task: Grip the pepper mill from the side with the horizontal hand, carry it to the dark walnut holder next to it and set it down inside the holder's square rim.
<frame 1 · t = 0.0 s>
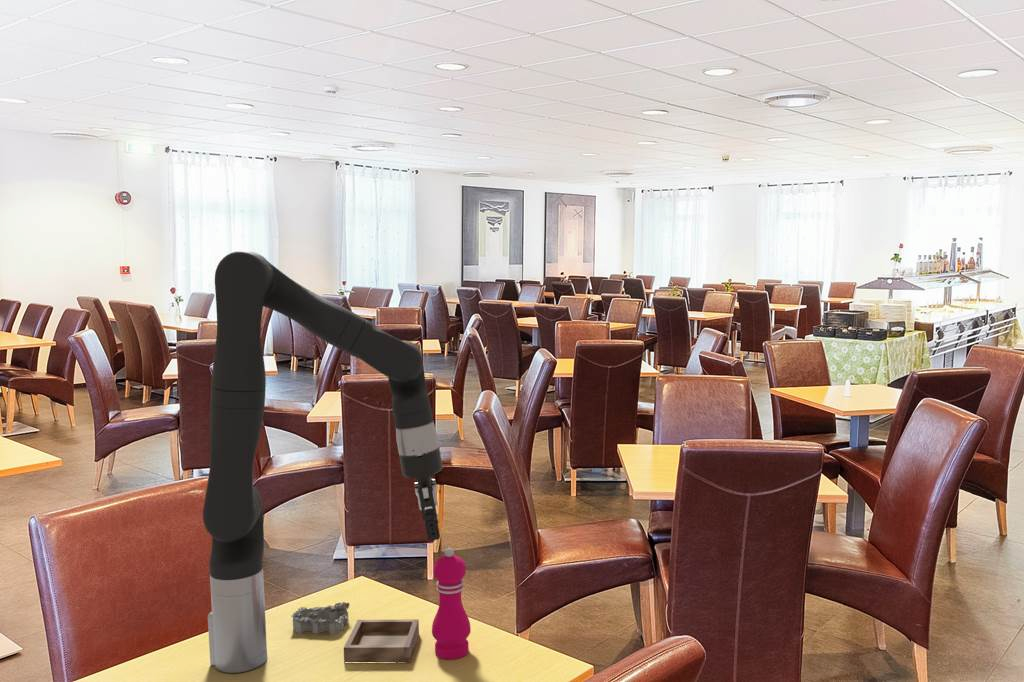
hand: (433, 532, 158), 22 cm above the table, tool pointing down, fingers open, 8 cm apart
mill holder: (383, 648, 160), on the table
pepper mill: (451, 652, 158), on the table
egg carton: (321, 628, 170), on the table
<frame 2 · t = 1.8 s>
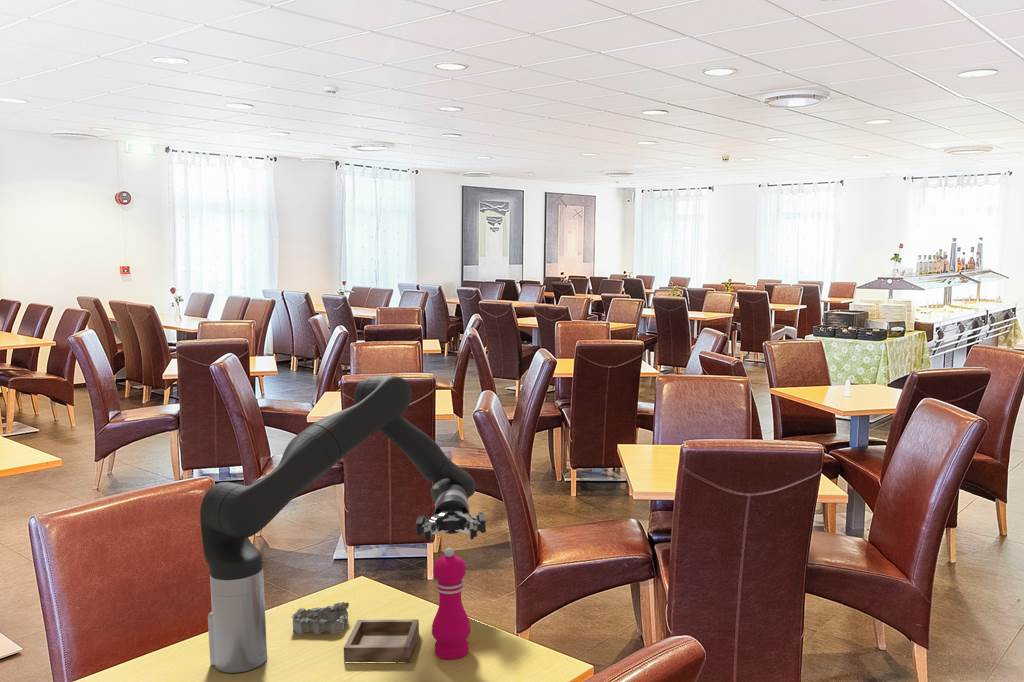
hand: (450, 535, 167), 19 cm above the table, tool horizontal, fingers open, 8 cm apart
nothing on the table moved.
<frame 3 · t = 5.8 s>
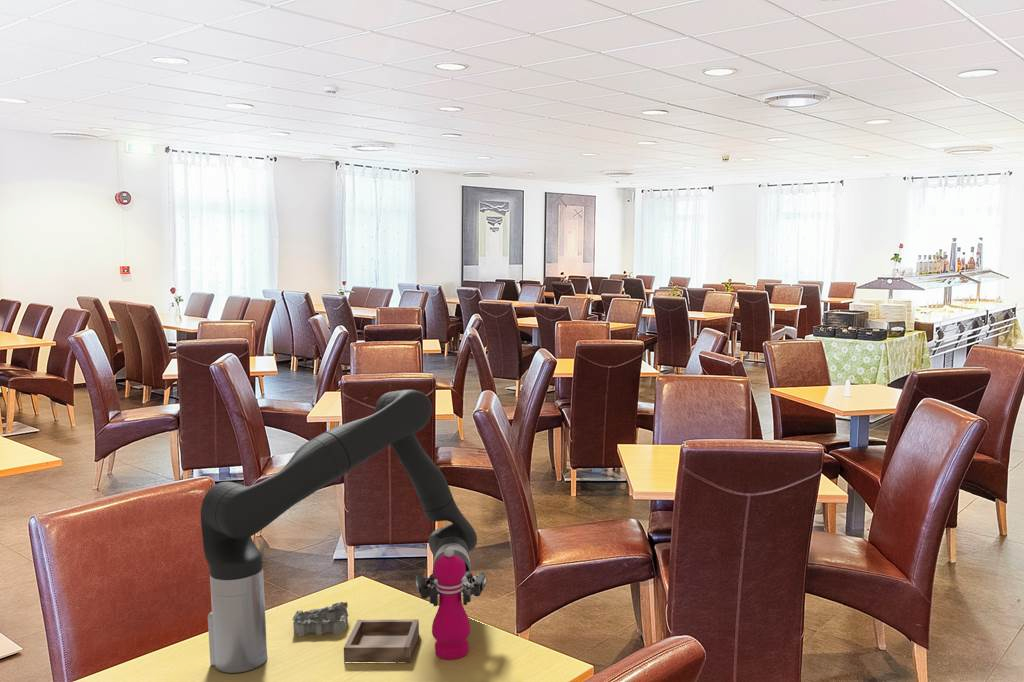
hand: (450, 600, 154), 11 cm above the table, tool horizontal, fingers closed on pepper mill, 4 cm apart
pepper mill: (451, 652, 158), on the table, touching gripper
when the fingers open (13 cm above the table, at t = 10.4 s): pepper mill drops 1 cm, resting on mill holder.
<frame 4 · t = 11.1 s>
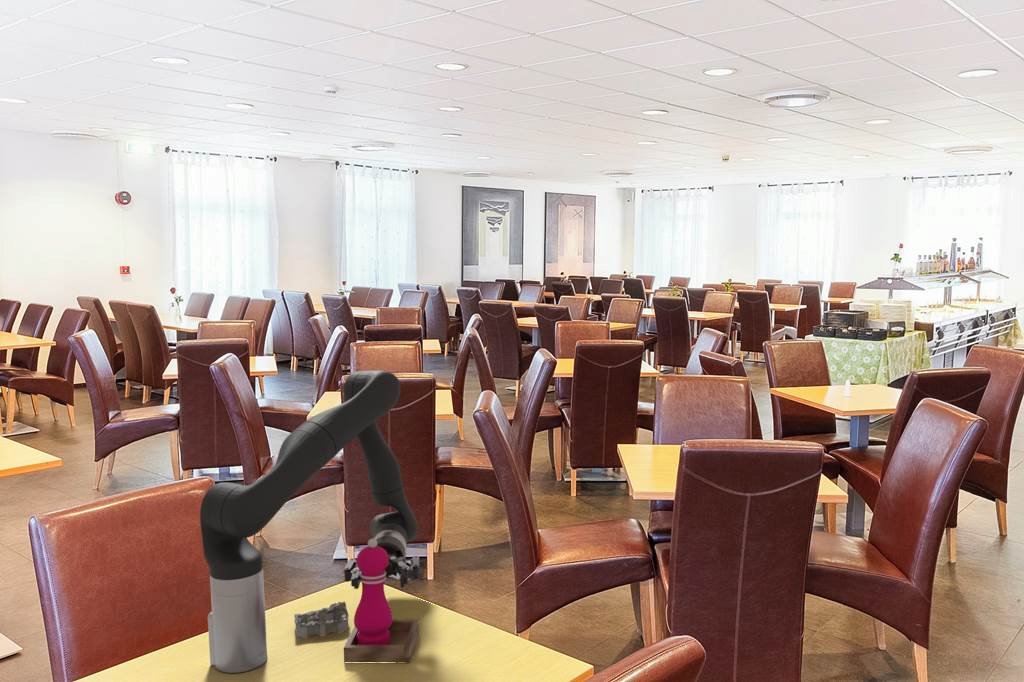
hand: (379, 583, 157), 13 cm above the table, tool horizontal, fingers open, 8 cm apart
pepper mill: (373, 643, 160), point 1 cm above the table, touching gripper, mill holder
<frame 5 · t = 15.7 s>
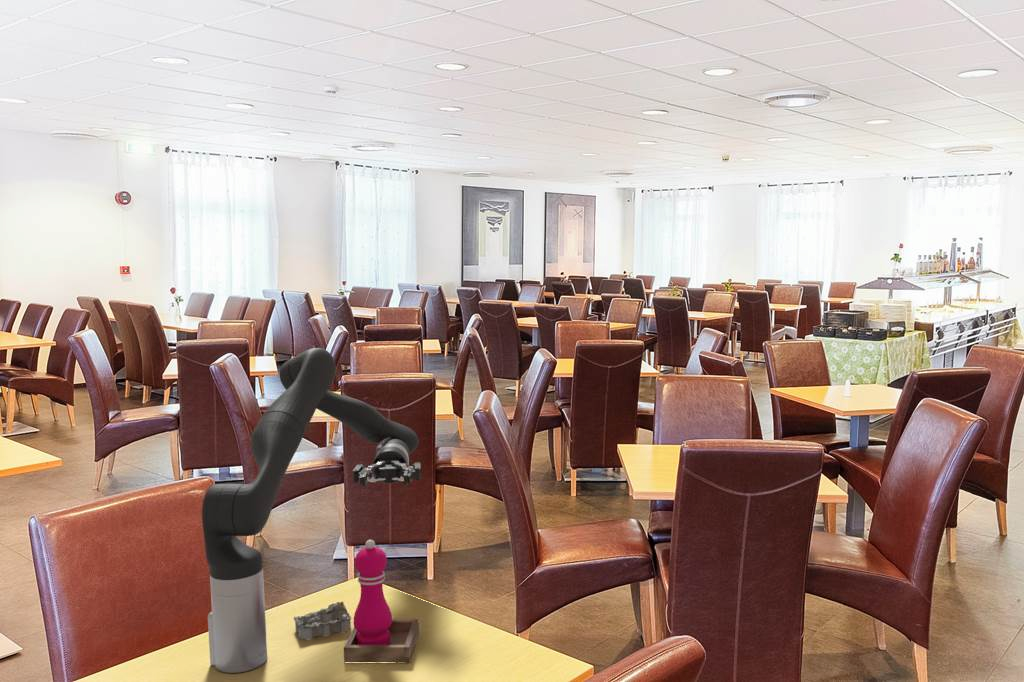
hand: (384, 481, 174), 28 cm above the table, tool horizontal, fingers open, 8 cm apart
pepper mill: (373, 643, 160), point 1 cm above the table, touching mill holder
at the end: pepper mill 1.8 cm off-centre on the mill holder, point 0.8 cm above the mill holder's base; pepper mill tilted 0°; the gripper is holding nothing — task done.
